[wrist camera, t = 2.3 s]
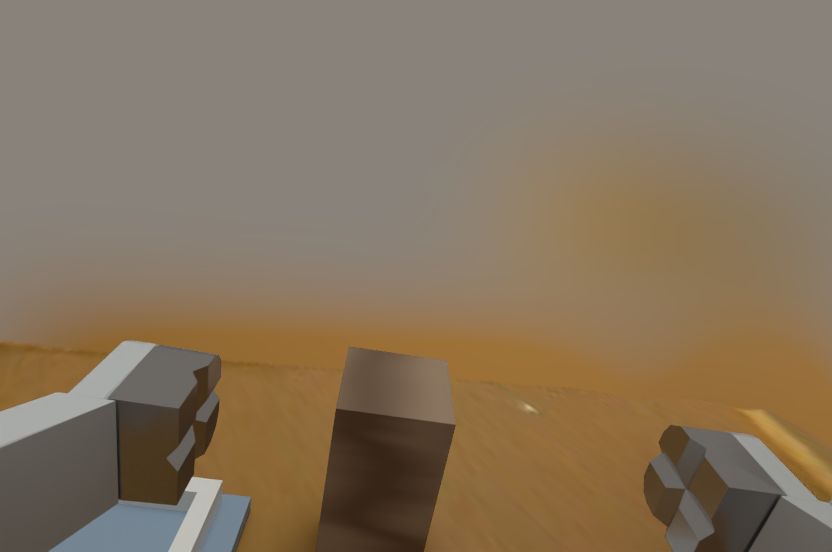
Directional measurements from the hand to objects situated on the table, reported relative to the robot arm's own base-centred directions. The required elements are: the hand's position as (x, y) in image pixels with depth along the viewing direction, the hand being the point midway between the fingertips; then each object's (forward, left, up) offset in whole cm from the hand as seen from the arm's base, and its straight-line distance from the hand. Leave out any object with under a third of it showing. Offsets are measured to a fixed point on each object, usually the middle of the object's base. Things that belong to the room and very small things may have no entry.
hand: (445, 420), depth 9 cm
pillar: (-2, -12, -19) cm, 23 cm away
